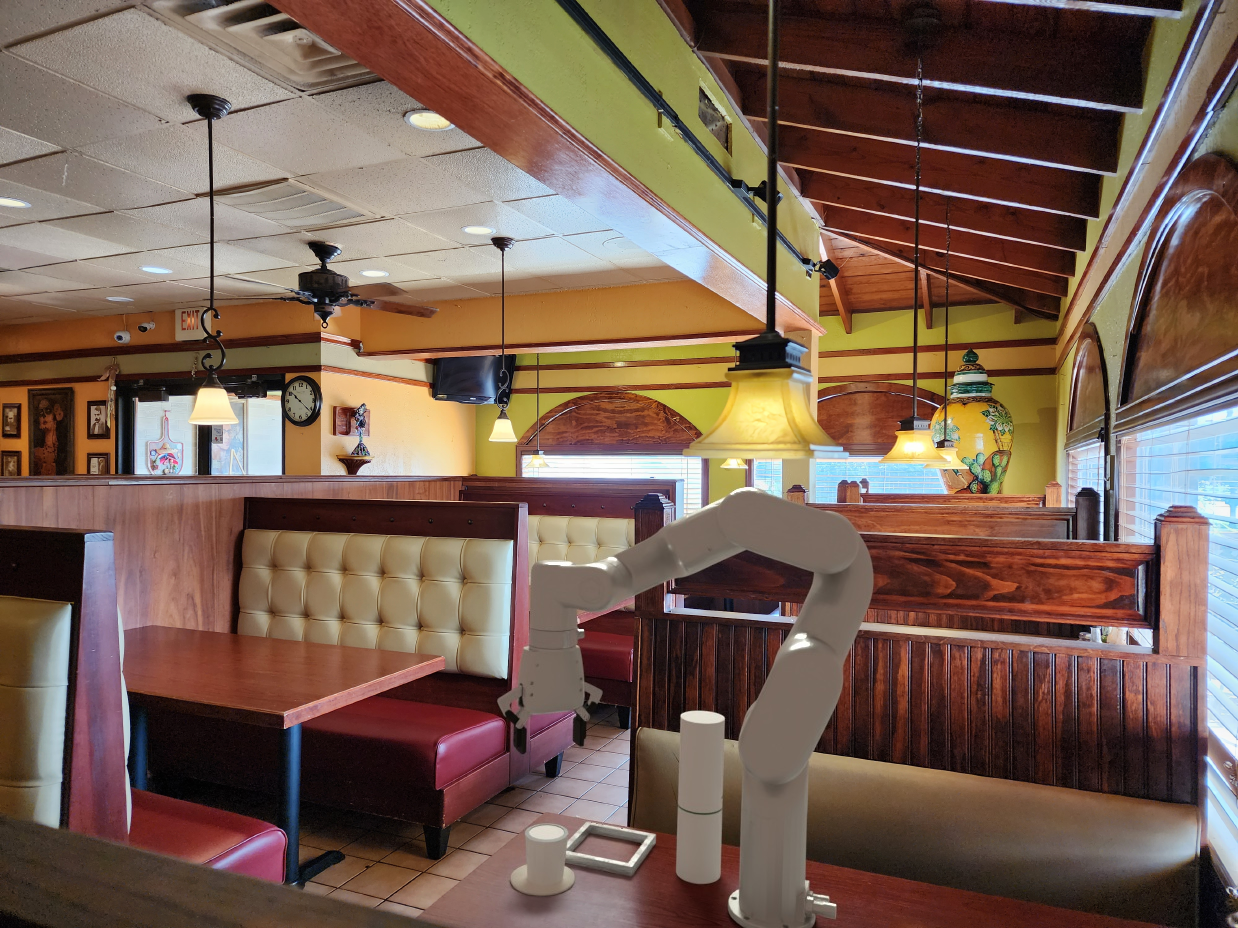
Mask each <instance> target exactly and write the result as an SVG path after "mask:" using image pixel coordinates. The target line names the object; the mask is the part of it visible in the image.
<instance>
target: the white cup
mask: <svg viewBox="0 0 1238 928" xmlns="http://www.w3.org/2000/svg"><path fill="white" fill-rule="evenodd" d="M524 840H525V842H524V843H525V859H526V860H525V861H526V864H527V878H528V880H529V881H530V882H531V883H533V884H536V885H541V886H548V885H553V884H557V883H558V882H560V881H561V880H562V879H563V874H564V866H566V865H565V864H566V863H565V858H566V850H567V841H568V840H569V829H567V828H566V827H565V826H562V825H560V824H556V823H546V822H545V823H538V824H534V825H531V826H530V827H527V828H526V830H525V831H524Z"/></svg>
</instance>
